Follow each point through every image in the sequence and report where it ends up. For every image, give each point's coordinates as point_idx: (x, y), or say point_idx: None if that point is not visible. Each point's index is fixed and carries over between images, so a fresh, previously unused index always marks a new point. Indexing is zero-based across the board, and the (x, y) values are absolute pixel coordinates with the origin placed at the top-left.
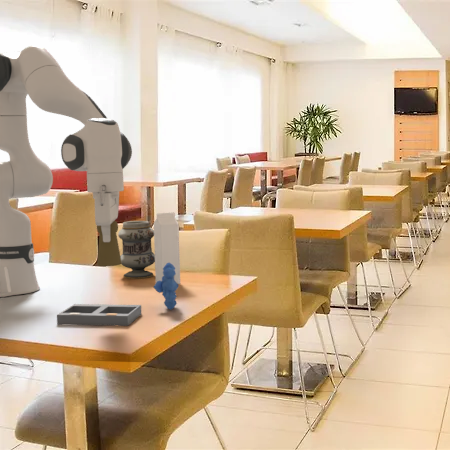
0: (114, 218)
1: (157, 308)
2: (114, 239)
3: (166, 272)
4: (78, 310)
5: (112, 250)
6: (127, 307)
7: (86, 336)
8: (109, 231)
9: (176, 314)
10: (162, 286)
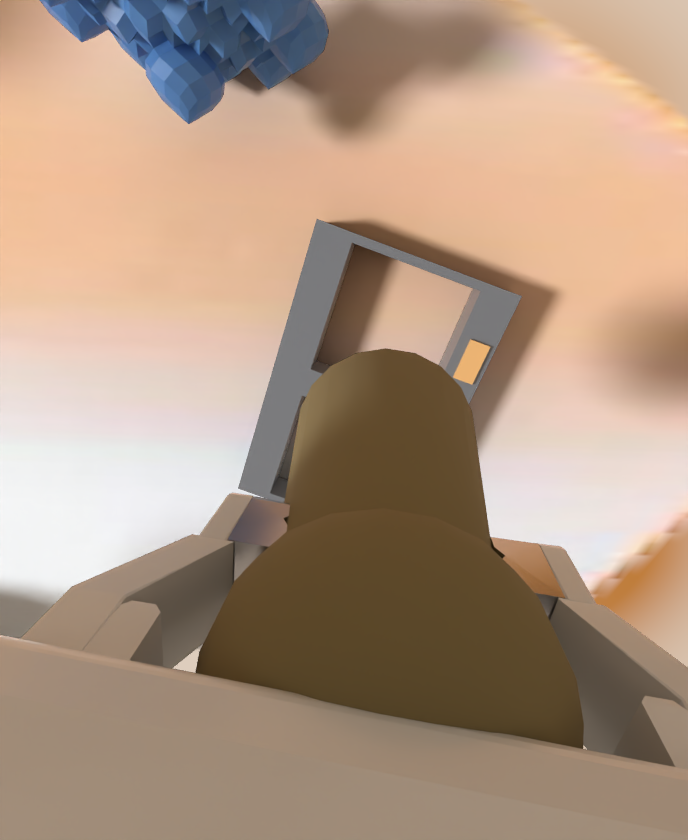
0: (422, 778)
1: (224, 135)
2: (465, 495)
3: None
4: (279, 468)
5: (479, 465)
6: (337, 287)
7: (604, 446)
8: (664, 658)
9: (370, 36)
10: (225, 56)
